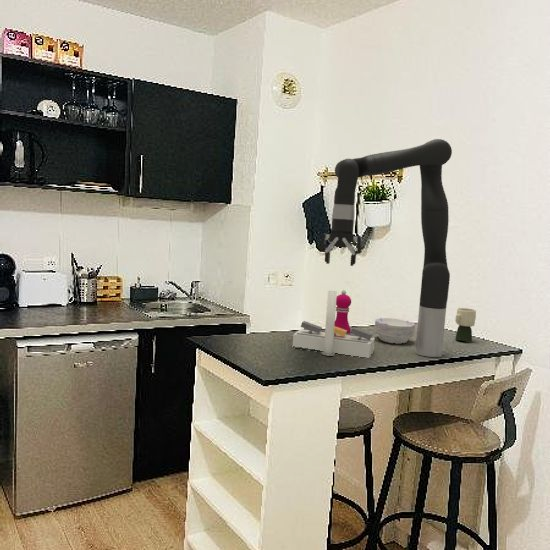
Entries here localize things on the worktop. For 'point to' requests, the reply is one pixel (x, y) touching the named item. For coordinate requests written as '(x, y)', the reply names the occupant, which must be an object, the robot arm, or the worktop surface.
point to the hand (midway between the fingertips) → (339, 264)
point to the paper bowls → (394, 330)
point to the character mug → (465, 323)
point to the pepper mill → (343, 311)
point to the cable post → (330, 323)
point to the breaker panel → (335, 343)
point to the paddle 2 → (361, 333)
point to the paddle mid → (339, 331)
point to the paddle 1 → (311, 327)
